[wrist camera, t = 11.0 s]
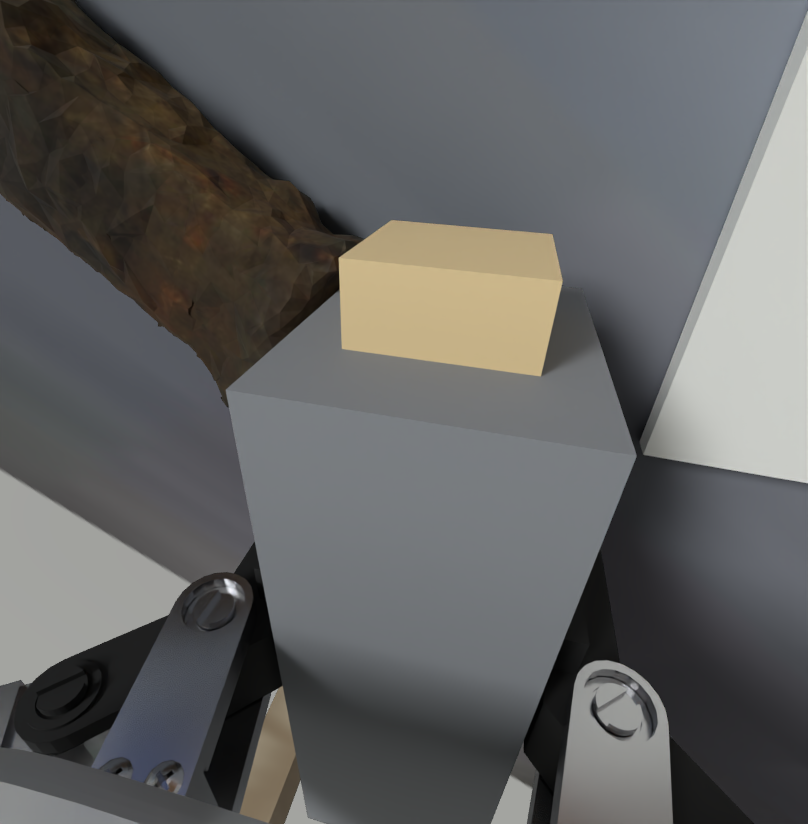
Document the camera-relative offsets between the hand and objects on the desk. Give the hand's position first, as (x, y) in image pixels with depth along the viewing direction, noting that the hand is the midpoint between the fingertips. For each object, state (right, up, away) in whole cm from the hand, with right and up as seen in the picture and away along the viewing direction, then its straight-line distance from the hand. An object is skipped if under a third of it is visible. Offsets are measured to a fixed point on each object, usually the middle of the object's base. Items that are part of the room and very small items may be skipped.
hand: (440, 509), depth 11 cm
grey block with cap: (0, 0, +1) cm, 1 cm away
